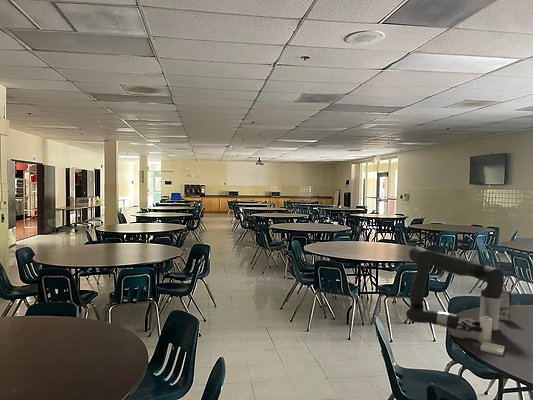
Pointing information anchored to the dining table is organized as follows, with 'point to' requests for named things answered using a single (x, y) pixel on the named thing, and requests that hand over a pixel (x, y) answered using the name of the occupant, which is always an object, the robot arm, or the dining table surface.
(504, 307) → the coffee box
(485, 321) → the battery cell
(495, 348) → the tray
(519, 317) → the dining table surface
